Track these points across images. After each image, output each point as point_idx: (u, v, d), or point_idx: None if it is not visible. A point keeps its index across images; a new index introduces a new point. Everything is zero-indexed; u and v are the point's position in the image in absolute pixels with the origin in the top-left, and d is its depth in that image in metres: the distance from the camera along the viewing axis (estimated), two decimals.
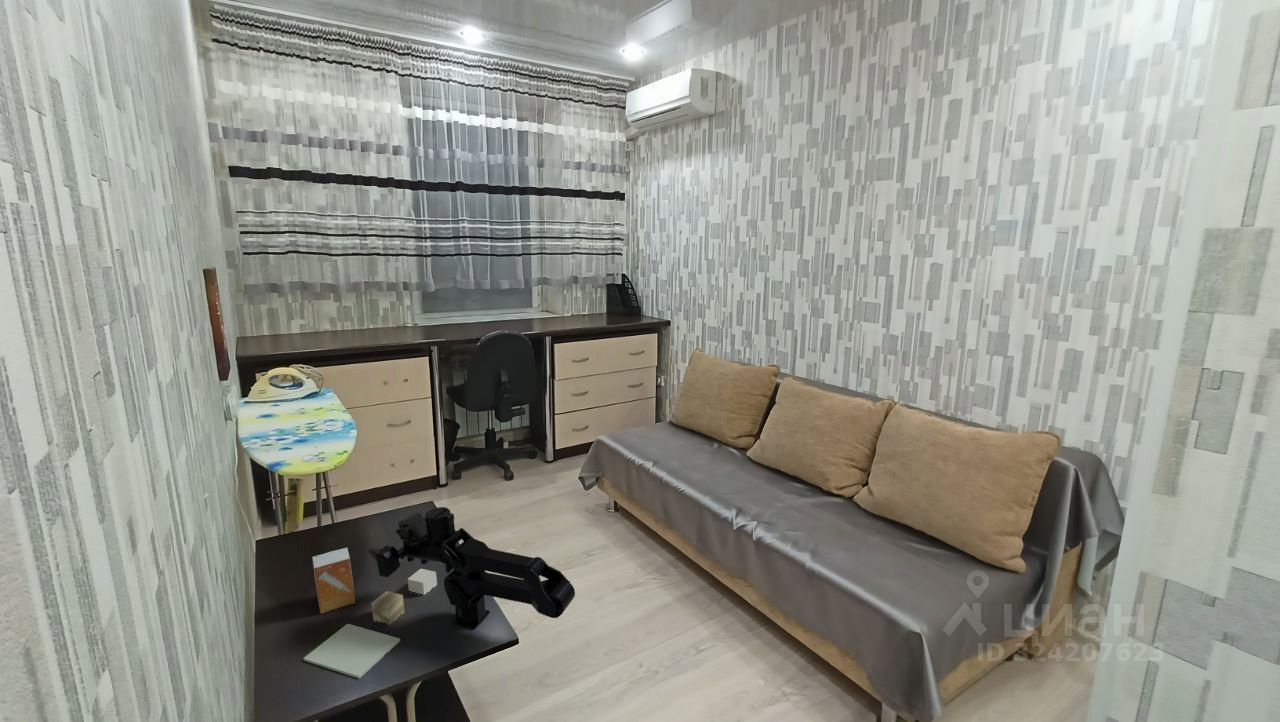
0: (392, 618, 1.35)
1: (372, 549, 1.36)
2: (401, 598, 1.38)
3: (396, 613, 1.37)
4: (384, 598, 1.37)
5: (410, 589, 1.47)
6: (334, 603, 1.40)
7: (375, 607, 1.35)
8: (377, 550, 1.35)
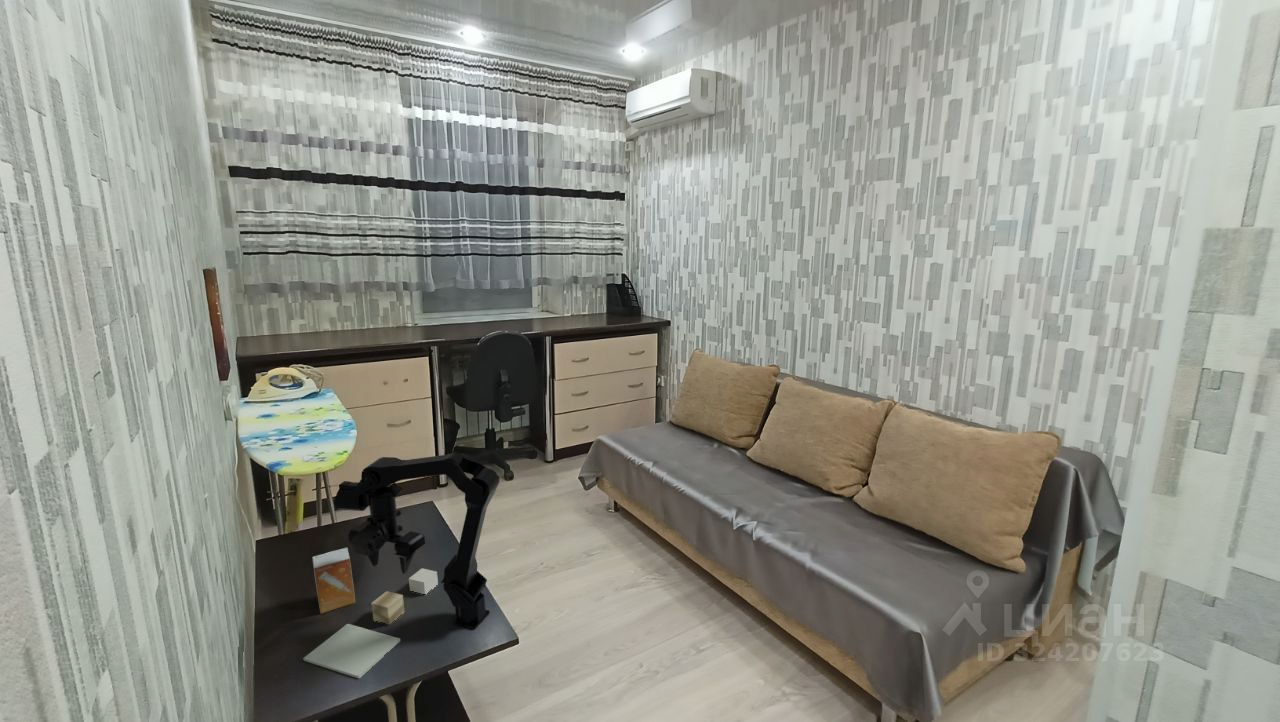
0: (392, 618, 1.35)
1: (402, 568, 1.33)
2: (401, 598, 1.38)
3: (396, 613, 1.37)
4: (384, 598, 1.37)
5: (411, 589, 1.47)
6: (334, 603, 1.40)
7: (375, 607, 1.35)
8: (402, 562, 1.32)
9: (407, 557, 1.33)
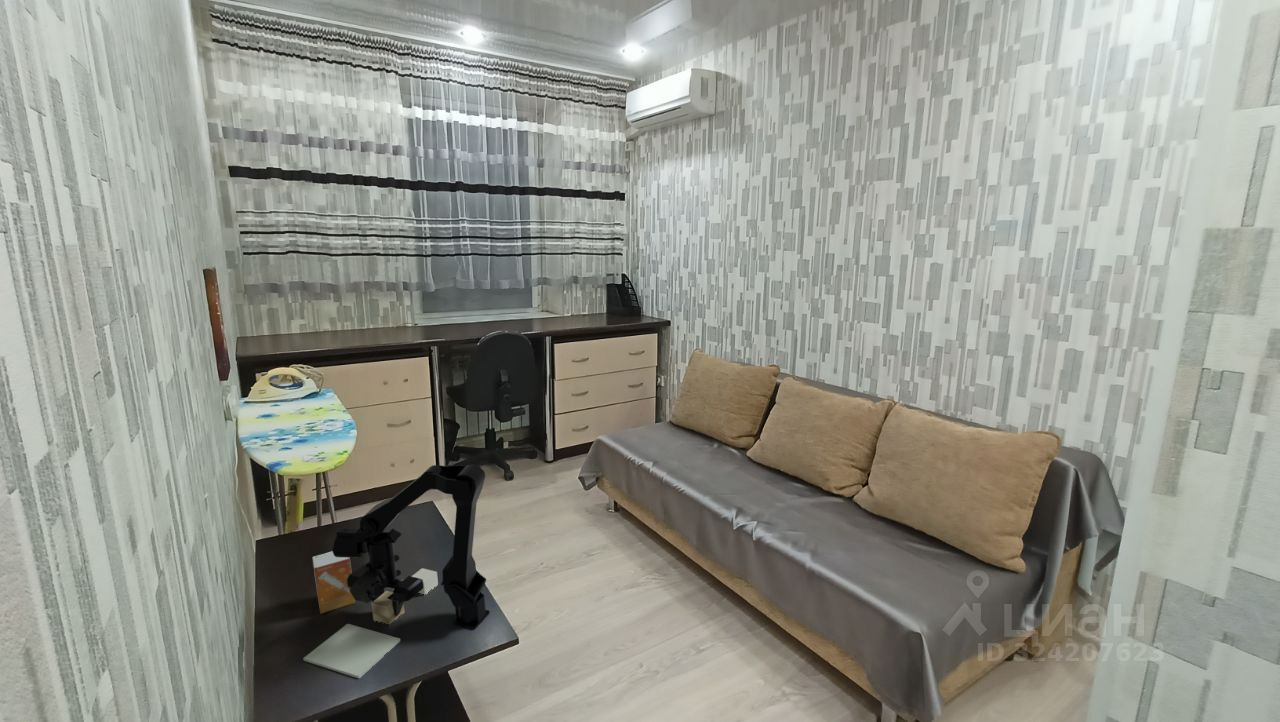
0: (391, 618, 1.35)
1: (395, 611, 1.35)
2: None
3: None
4: (384, 598, 1.37)
5: None
6: (334, 603, 1.40)
7: (375, 606, 1.35)
8: (394, 605, 1.34)
9: (399, 600, 1.35)
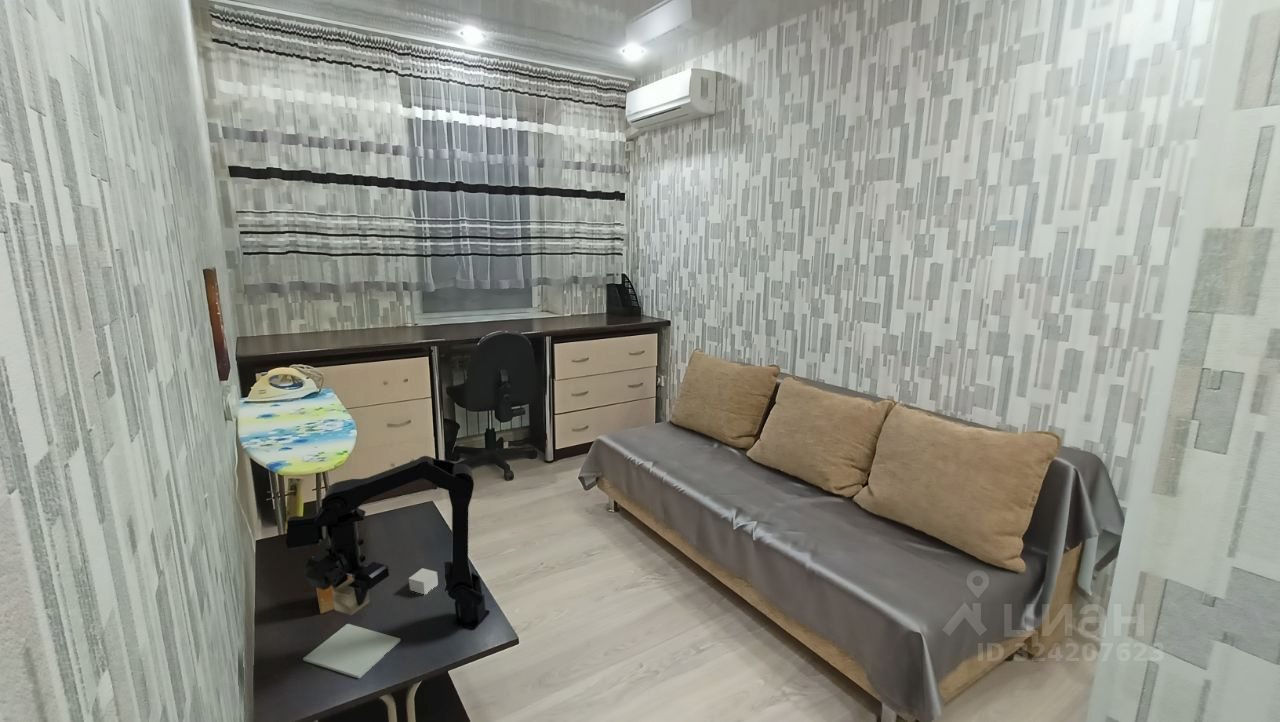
0: (354, 608, 1.23)
1: (358, 600, 1.24)
2: None
3: None
4: (347, 586, 1.25)
5: (411, 588, 1.47)
6: None
7: (336, 594, 1.23)
8: (357, 593, 1.22)
9: (363, 588, 1.24)
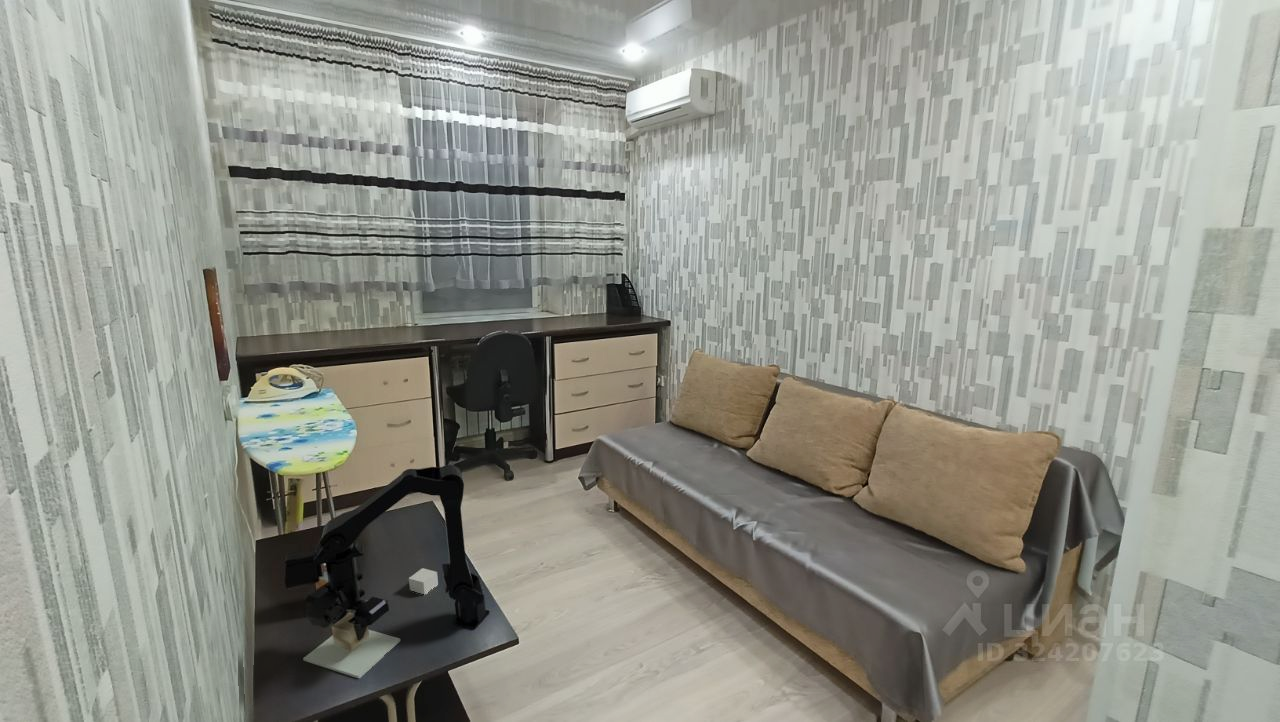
0: (354, 643, 1.23)
1: (358, 635, 1.24)
2: None
3: None
4: (346, 621, 1.25)
5: (411, 588, 1.47)
6: None
7: (335, 630, 1.23)
8: (357, 629, 1.22)
9: (363, 623, 1.24)
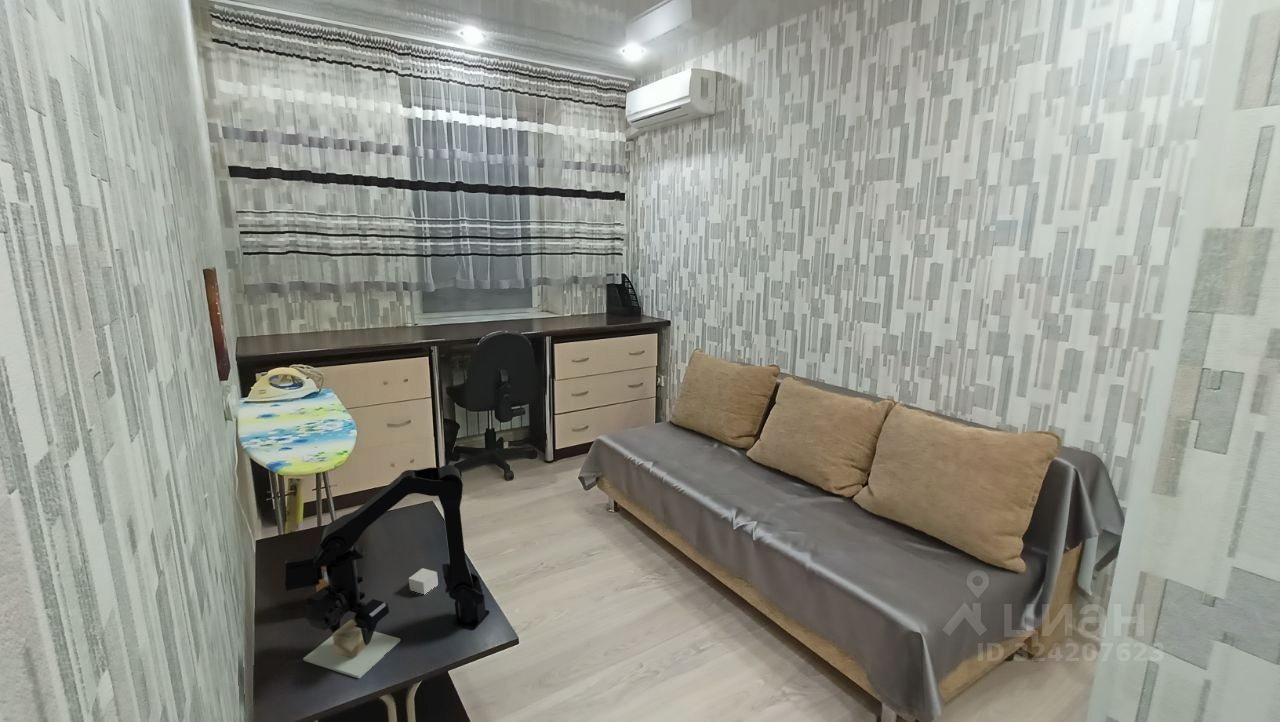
0: (354, 651, 1.24)
1: (365, 640, 1.23)
2: None
3: (360, 644, 1.25)
4: (347, 628, 1.25)
5: (411, 588, 1.47)
6: None
7: (336, 638, 1.24)
8: (364, 633, 1.22)
9: (369, 627, 1.23)
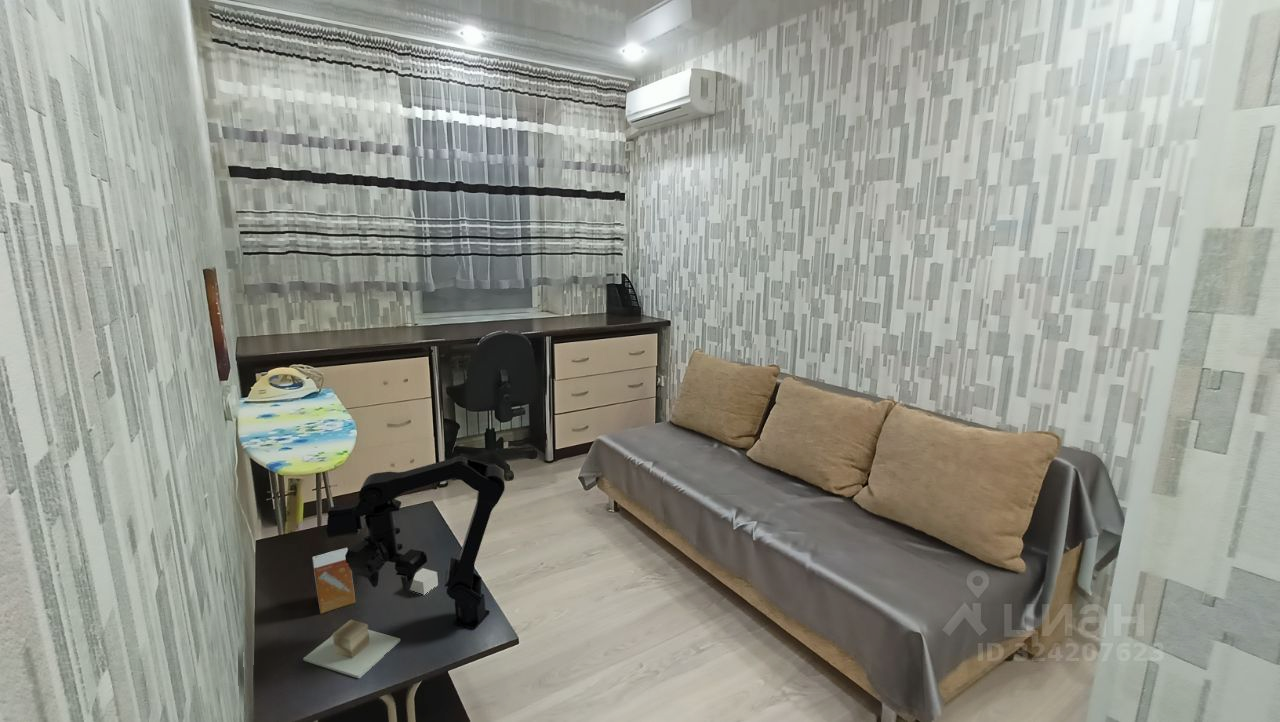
0: (354, 651, 1.24)
1: (404, 588, 1.27)
2: (366, 628, 1.26)
3: (360, 644, 1.25)
4: (347, 628, 1.25)
5: (411, 588, 1.47)
6: (334, 603, 1.40)
7: (336, 638, 1.24)
8: (404, 581, 1.26)
9: (409, 576, 1.27)
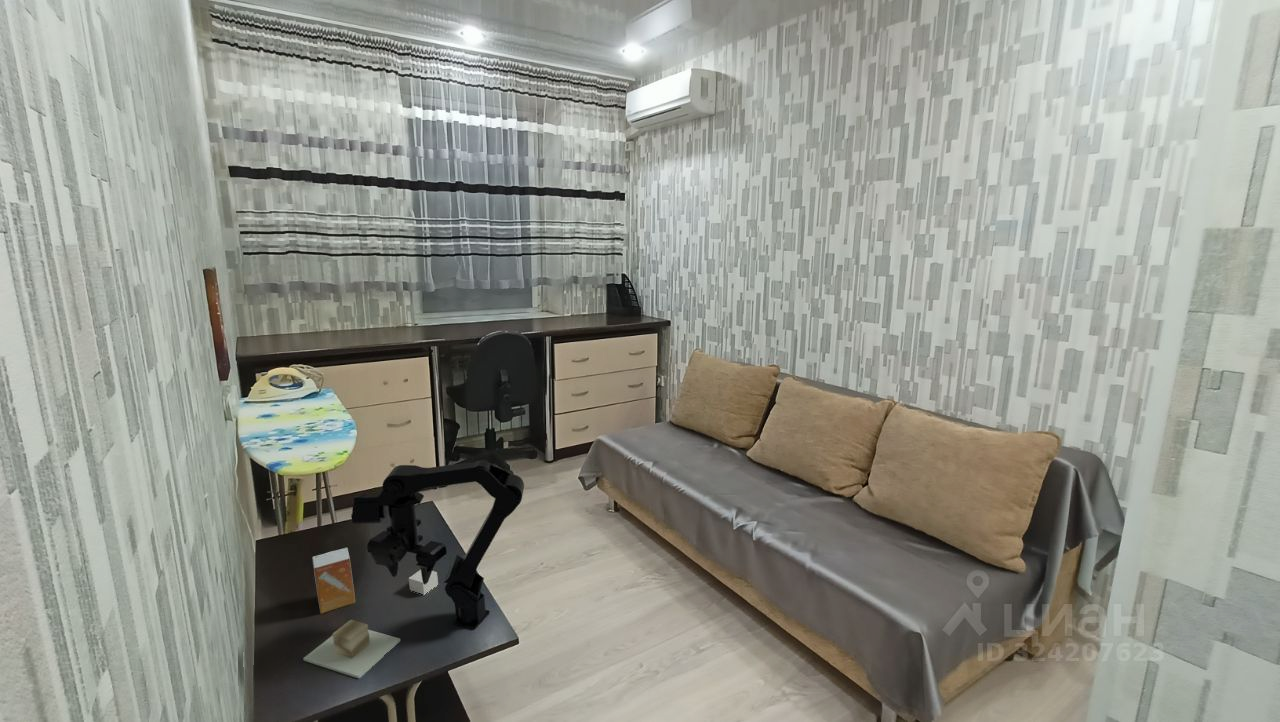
0: (354, 651, 1.24)
1: (423, 579, 1.30)
2: (366, 628, 1.26)
3: (360, 644, 1.25)
4: (347, 628, 1.25)
5: (411, 588, 1.47)
6: (334, 603, 1.40)
7: (336, 638, 1.24)
8: (423, 572, 1.29)
9: (428, 567, 1.30)
